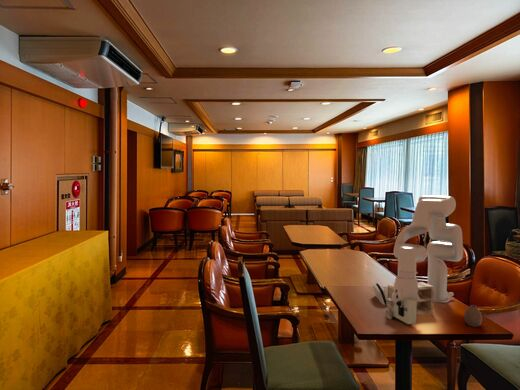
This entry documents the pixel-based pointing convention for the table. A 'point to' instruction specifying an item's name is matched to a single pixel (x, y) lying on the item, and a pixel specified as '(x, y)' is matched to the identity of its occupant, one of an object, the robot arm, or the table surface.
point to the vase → (473, 316)
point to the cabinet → (422, 305)
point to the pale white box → (406, 311)
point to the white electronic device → (380, 292)
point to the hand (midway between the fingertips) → (405, 314)
